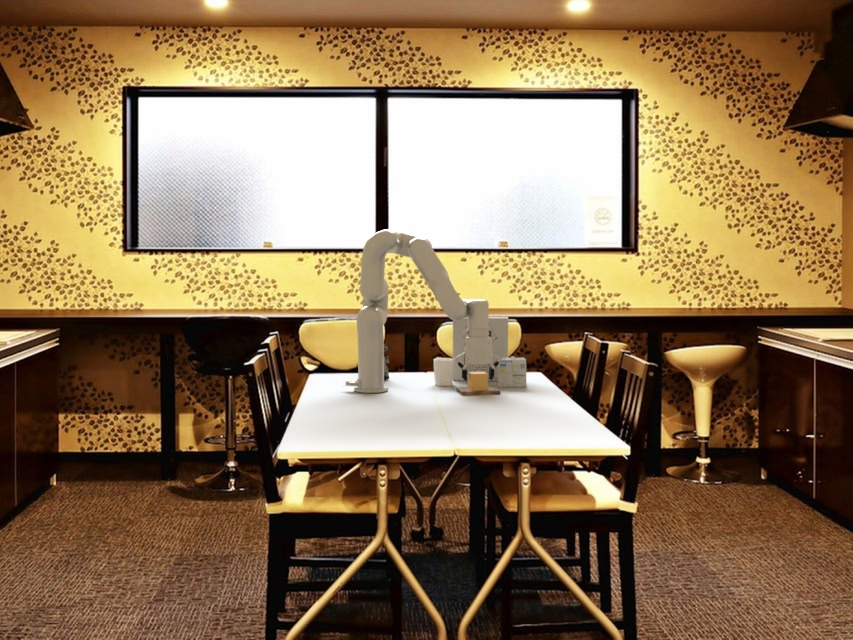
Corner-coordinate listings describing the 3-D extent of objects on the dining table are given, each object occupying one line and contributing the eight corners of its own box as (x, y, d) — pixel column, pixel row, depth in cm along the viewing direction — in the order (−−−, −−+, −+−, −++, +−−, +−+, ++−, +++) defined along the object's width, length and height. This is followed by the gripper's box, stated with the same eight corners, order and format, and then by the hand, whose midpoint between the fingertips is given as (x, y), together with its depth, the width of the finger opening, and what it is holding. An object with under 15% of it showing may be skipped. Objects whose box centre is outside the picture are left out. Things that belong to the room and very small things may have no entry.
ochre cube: (471, 390, 333) (471, 374, 333) (468, 388, 339) (468, 371, 339) (487, 390, 334) (487, 373, 334) (483, 387, 340) (484, 371, 340)
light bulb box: (524, 384, 355) (524, 356, 354) (526, 387, 349) (527, 359, 348) (496, 384, 355) (496, 357, 354) (498, 387, 348) (498, 359, 347)
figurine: (373, 377, 375) (373, 340, 374) (391, 380, 367) (391, 342, 365) (355, 379, 369) (355, 342, 368) (373, 382, 361) (373, 344, 359)
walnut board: (462, 395, 330) (462, 392, 330) (456, 390, 341) (456, 387, 341) (500, 394, 333) (500, 390, 332) (493, 389, 343) (493, 386, 343)
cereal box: (507, 378, 371) (508, 316, 369) (507, 381, 363) (507, 318, 361) (454, 377, 373) (454, 316, 371) (452, 380, 365) (452, 317, 363)
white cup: (431, 386, 352) (431, 360, 351) (436, 383, 359) (436, 357, 358) (451, 386, 350) (451, 360, 349) (456, 383, 357) (456, 358, 356)
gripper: (456, 334, 330) (456, 382, 331) (503, 333, 333) (503, 380, 334) (452, 332, 337) (452, 379, 339) (498, 331, 340) (498, 377, 342)
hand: (478, 379), depth 336 cm, fingers open, 9 cm apart
